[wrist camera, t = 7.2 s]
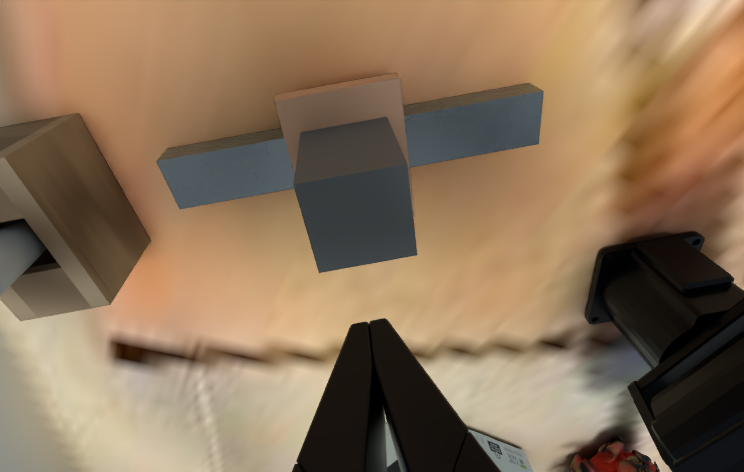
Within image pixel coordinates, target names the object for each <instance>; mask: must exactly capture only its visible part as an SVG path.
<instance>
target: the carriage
mask: <svg viewBox="0 0 744 472" xmlns="http://www.w3.org/2000/svg"><path fill="white" fill-rule="evenodd" d="M274 103H275V106H276V110H277V113H278V117H279V120H280V124H281V128H282V131H283V135H284V138H285V142H286V145H287V149H288V152H289V156H290V159H291V163H292V166H293V170H294V173H295V177H294V184H293V185H294V188H295V192H296V195H297V199H298V202H299V205H300V209H301V212H302V216H303V219H304V223H305V226H306V230H307V233H308V236H309V240H310V243H311V247H312V250H313V254H314V257H315V260H316V264H317V267H318V271H319V273H321V272H327V271H332V270H338V269H343V268H349V267H354V266H360V265H365V264H371V263H376V262H382V261H387V260H393V259H398V258H404V257H409V256H415V255H417V249H416V239H415V230H414V220H413V216H414V207H413V198H412V188H411V179H410V169H409V159H408V150H407V140H406V131H405V121H404V111H403V102H402V92H401V82H400V77H399V76H398V75H397V73H392V74H386V75H381V76H375V77H370V78H364V79H359V80H353V81H348V82H342V83H337V84H331V85H326V86H320V87H315V88H309V89H304V90H298V91H293V92H287V93H282V94H276V97H275V100H274Z"/></svg>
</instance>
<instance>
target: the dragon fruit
mask: <svg viewBox="0 0 744 472" xmlns="http://www.w3.org/2000/svg"><path fill="white" fill-rule="evenodd" d="M624 447H625V444H624V443H623V439H622V438H620V437H618V438H617V439H616V440H615V441H613V442H610V443H604V444H603V445H602V446H601V447H600V448H599V449H598V452H597V454H596V455H595V456H593V457H592V458H591V459H589V460H588V459H586V458H584V457H583V456H581V455H580V454H576V455H575V456H574V458H573V461H572V462H571V464H570V470H571V471H572V472H660V471H659V468H657V467H658V466H657V464H656V462H654V464H653V463H652V462H651V459H650V458H649V457H648V456H646V455H644V454H641V453H639V452H638V451H636V450H632V452H631V453H630V452H625V451H623V450H624ZM655 469H656V470H655Z"/></svg>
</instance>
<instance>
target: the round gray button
mask: <svg viewBox="0 0 744 472" xmlns="http://www.w3.org/2000/svg"><path fill="white" fill-rule="evenodd" d="M46 249H47V248H46V247H45V245H44V244H43V243H42V241H41V240H40V239H39V237H38V236H37V235H36V233H35V232H34V231H33V229H32V228H31V227H30V225H29V224H28V223H27V222H26V220H25V219H24V218H22V219H17V220H11V221H10V222H9V223H7V224H6V225H5V226H4V227H2V228H1V229H0V296H1V295H2V294H3V293H4V292H5V291H6V290H7V289H8V288H9V287H10V286H11V285H12V284H13V283H14V282H15V281H16V280H17V279H18V278H19V277H20V276H21V275H22V274H23V273H24V272H25V271H26V270H27V269H28V268H29V267H30V266H31V265H32V264H33V263H34V262H35V260H36V259H37V258H38V257H39V256H40V255H41V254H42V253H43V252H44V251H45V250H46Z"/></svg>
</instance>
